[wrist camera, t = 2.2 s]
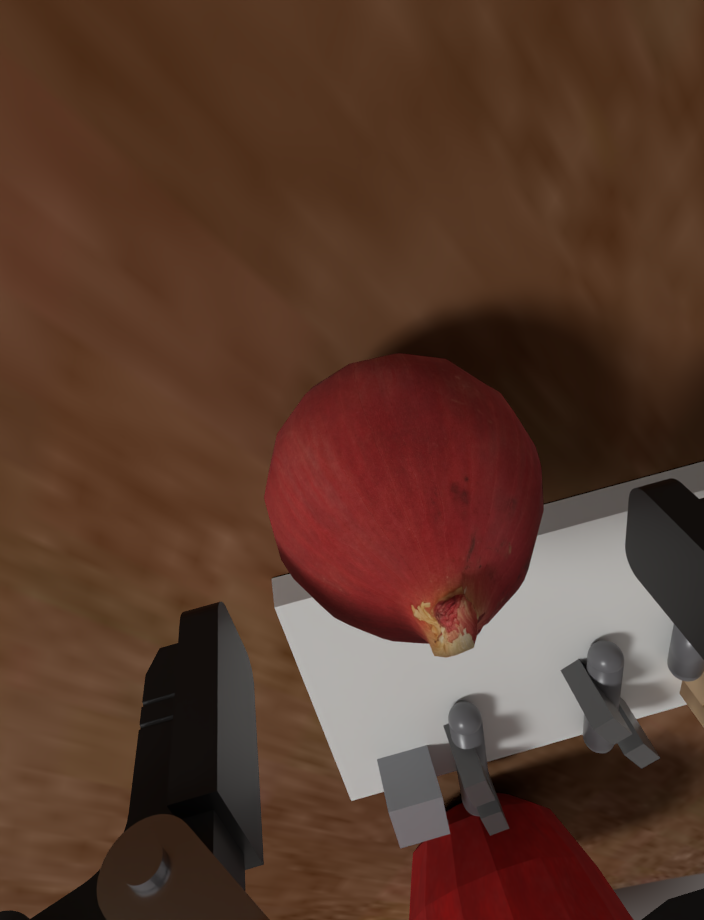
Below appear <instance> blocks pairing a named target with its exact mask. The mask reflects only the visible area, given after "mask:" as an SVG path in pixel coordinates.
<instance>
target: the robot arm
mask: <svg viewBox="0 0 704 920" xmlns="http://www.w3.org/2000/svg"><path fill="white" fill-rule="evenodd" d="M625 552H626V556H627V560H628V563H629V565H630V568H631V570H632V571H633V573H634V575H635V576H636V578H637V579H638V580H639V581H640V583H641V584H642V585H643V586H644V588H645V589H646V590H647V591H648V592H649V594H650V595H651V596H652V597H653V599H654V600H655V601H656V602H657V603H658V605H659V606H660V607H661V608H662V610H663V611H664V612H665V613H666V614H667V616H668V617H669V618H670V619H671V621H672V622H673V623H674V624H675V625H676V627H677V628H678V629H679V630H680V632H681V633H682V634H683V635H684V637H685V638H686V639H687V640H688V641H689V643H690V644H691V645H692V646H693V648H694V649H695V650H696V651H697V652H698V654H699V655H700V656H701V657H702V659H703V660H704V498H701V499H699V498H698V497H696V496H695V495H694V494H693V493H692V492H691V491H690V490H689V489H688V488H686V487H685V486H684V485H683V484H682V483H681V482H680V481H678V480H676V479H673V478H669V479H666V480H662V481H659V482H655V483H651V484H648V485H644V486H641V487H637V488H634V489H632V490H631V492H630V494H629V500H628V513H627V526H626V540H625ZM142 702H143V707H142V709H141V718H140V727H141V729H140V730H139V734H138V742H137V750H136V758H135V766H134V775H133V783H132V791H131V799H130V807H129V815H128V820H127V824H126V827H125V831H124V833H123V834H122V835H121V836H120V837H119V838H118V839H117V840H116V841H115V843H114V844H113V846H112V847H111V848H110V850H109V852H108V853H107V855H106V857H105V859H104V861H103V864H102V866H101V868H100V870H99V871H98V872H97V873H96V874H95V875H94V876H93V877H92V878H90V879H89V880H88V881H87V882H85V883H84V884H82V885H81V886H80V887H78V888H77V889H75V890H74V891H72V892H71V893H69V894H68V895H66V896H64V897H63V898H61V899H60V900H58V901H57V902H55V903H54V904H52V905H51V906H49V907H48V908H46V909H45V910H43V911H42V912H40V913H39V914H37V915H36V916H34V917H33V918H31V919H29V918H28V917H27V916H25V915H24V914H22V913H20V912H16V911H2V912H0V920H269V918H268V917H267V916H266V915H265V914H264V913H263V912H262V910H261V909H260V908H259V907H258V906H257V905H256V904H255V902H254V901H253V900H252V899H251V898H250V897H249V895H248V894H247V893H246V892H245V870H247V869H250V868H253V867H257V866H260V865H263V864H264V861H263V843H262V824H261V806H260V788H259V769H258V751H257V733H256V714H255V696H254V681H253V674H252V669H251V665H250V661H249V658H248V655H247V652H246V650H245V647H244V645H243V643H242V641H241V639H240V637H239V634H238V632H237V630H236V628H235V626H234V624H233V621H232V619H231V617H230V615H229V613H228V611H227V608H226V607H225V605H224V603H223V602H218V603H214V604H211V605H207V606H203V607H200V608H196V609H193V610H189V611H185V612H183V613H182V614H181V617H180V626H179V640H178V643H177V644H173V645H170V646H166V647H163V648H160V649H159V651H158V653H157V655H156V656H155V658H154V660H153V662H152V664H151V666H150V668H149V670H148V672H147V673H146V677H145V685H144V693H143V701H142ZM642 920H704V889H701V890H697V891H695V892H691V893H688V894H684V895H681V896H678V897H675V898H671V899H668V900H667V901H666V902H664V903H663V904H662V905H660V906H659V907H658V908H656V909H655V910H654V911H653V912H651V913H650V914H649V915H647V916H646V917H645V918H643V919H642Z"/></svg>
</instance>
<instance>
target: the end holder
mask: <svg viewBox="0 0 704 920" xmlns="http://www.w3.org/2000/svg"><path fill="white" fill-rule="evenodd" d="M679 694H680V695H681V697H682V698H683V699H684V701H685V702H686V703H687V705H688V706H689V708H690V709H691V710H692V712H693V713H694V715H695V716H696V717H697V719H698V720H699V722H700V723H701V724H702V726H703V727H704V671H703V673H702V675H701V677H700V678H698V679H697V680H694V681H690V682H687V681H682V684H681V688H680V693H679Z"/></svg>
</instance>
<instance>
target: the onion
mask: <svg viewBox="0 0 704 920" xmlns="http://www.w3.org/2000/svg"><path fill="white" fill-rule="evenodd" d="M264 499H265V503H266V507H267V510H268V514H269V518H270V522H271V525H272V529H273V532H274V536H275V539H276V543H277V546H278V550H279V553H280V557H281V560H282V562H283V563H284V565H285V566H286V568H287V570H288V571H289V573H290V574H291V576H292V577H293V579H294V580H295V581H296V582H297V583H298V584H299V585H300V586H301V587H302V588H303V589H304V590H305V591H306V592H307V593H308V594H310V595H311V596H312V597H313V598H314V599H315V600H316V601H317V602H318V603H319V604H320V605H321V606H322V607H323V608H324V609H325V610H326V611H327V612H328V613H330V614H331V615H332V616H333V617H334V618H336V619H338V620H340V621H342V622H344V623H346V624H348V625H350V626H352V627H355V628H357V629H360V630H362V631H365V632H367V633H370V634H372V635H375V636H377V637H380V638H382V639H386V640H390V641H395V642H408V643H422V644H429V645H430V647H431V649H432V652H433V654H434V656H439V657H445V658H446V657H451V656H455V655H458V654H460V653H463V652H465V651H468V650H470V649H472V648H474V645H475V641H476V638H477V635H478V634H479V633H480V631H481V630H482V628H483V626H484V625H486V624H488V623H489V622H490V621H491V620H492V618H493V617H494V616H495V615H496V614H497V613H498V612H499V611H500V610H501V608H502V607H503V606H504V605H505V604H506V603H507V602H508V601H509V600H510V598H511V597H512V596H513V595H514V594H515V593H516V592H517V591H518V589H519V588H520V586H521V585H522V583H523V582H524V580H525V577H526V575H527V572H528V569H529V565H530V561H531V558H532V554H533V550H534V546H535V542H536V538H537V534H538V530H539V527H540V523H541V519H542V515H543V511H544V504H543V487H542V469H541V464H540V460H539V456H538V453H537V449H536V446H535V445H534V443H533V441H532V440H531V438H530V437H529V435H528V433H527V432H526V430H525V429H524V427H523V425H522V424H521V422H520V421H519V419H518V417H517V416H516V414H515V413H514V411H513V410H512V408H511V407H510V405H509V404H508V403H507V401H506V400H505V398H504V397H503V396H502V394H501V393H500V392H499V391H497V390H495V389H493V388H492V387H490V386H488V385H487V384H485V383H483V382H481V381H480V380H478V379H477V378H475V377H473V376H472V375H470V374H469V373H467V372H466V371H464V370H463V369H461V368H459V367H458V366H456V365H455V364H453V363H452V362H450V361H449V360H447V359H444V358H435V357H427V356H419V355H411V354H402V353H397V354H391V355H387V356H382V357H378V358H373V359H369V360H364V361H360V362H355V363H351V364H348V365H347V366H345V367H344V368H342V369H340V370H339V371H337V372H336V373H334V374H332V375H331V376H329V377H328V378H326V379H325V380H323V381H321V382H320V383H318V384H317V385H315V386H314V387H312V388H311V389H310V390H309V391H308V392H307V393H306V394H305V395H304V397H303V398H302V400H301V401H300V402H299V404H298V405H297V407H296V408H295V409H294V411H293V412H292V414H291V415H290V417H289V418H288V419H287V421H286V422H285V424H284V425H283V426H282V428H281V429H280V431H279V432H278V433H277V437H276V441H275V446H274V451H273V455H272V460H271V464H270V469H269V474H268V479H267V485H266V490H265V496H264Z"/></svg>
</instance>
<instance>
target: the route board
mask: <svg viewBox="0 0 704 920" xmlns="http://www.w3.org/2000/svg"><path fill="white" fill-rule="evenodd" d="M669 478H673V479H676V480H678V481H680V482H681V483H682V484H683V485H684V486H685V487H686V488H688V489H689V490H690V491H691V492H692V493H693V494H694V495H695V496H696V497H698V498H699V499H701V498H704V461H703V462H699V463H696V464H692V465H688V466H685V467H681V468H677V469H674V470H670V471H666V472H662V473H659V474H655V475H651V476H648V477H644V478H640V479H637V480H633V481H629V482H626V483H622V484H618V485H615V486H611V487H607V488H604V489H600V490H596V491H592V492H589V493H585V494H581V495H578V496H574V497H570V498H567V499H563V500H559V501H556V502H552V503H548V504H545V505H544V511H543V515H542V519H541V523H540V527H539V530H538V534H537V538H536V542H535V546H534V550H533V554H532V558H531V561H530V565H529V569H528V572H527V575H526V577H525V580H524V582H523V583H522V585H521V586H520V588H519V589H518V591H517V592H516V593H515V594H514V595H513V596H512V597H511V598H510V600H509V601H508V602H507V603H506V604H505V605H504V606H503V607H502V608H501V610H500V611H499V612H498V613H497V614H496V615H495V616H494V617H493V618H492V620H491V621H490V622H489V623H488V624H486V625H484V626H483V628H482V630H481V631H480V633H479V634H478V635H477V638H476V641H475V645H474V648H472V649H470V650H468V651H465V652H463V653H460V654H458V655H455V656H451V657H446V658H445V657H439V656H434V654H433V652H432V649H431V647H430V645H429V644H422V643H408V642H395V641H390V640H386V639H382V638H380V637H377V636H375V635H372V634H370V633H367V632H365V631H362V630H360V629H357V628H355V627H352V626H350V625H348V624H346V623H344V622H342V621H340V620H338V619H336V618H334V617H333V616H332V615H331V614H330V613H328V612H327V611H326V610H325V609H324V608H323V607H322V606H321V605H320V604H319V603H318V602H317V601H316V600H315V599H314V598H313V597H312V596H311V595H310V594H308V593H307V592H306V591H305V590H304V589H303V588H302V587H301V586H300V585H299V584H298V583H297V582H296V581H295V580H294V579H293V577H292V576H291V574H287V575H283V576H279V577H276V578H272V587H273V597H274V607H275V610H276V612H277V615H278V618H279V620H280V623H281V625H282V628H283V630H284V633H285V635H286V638H287V640H288V643H289V645H290V648H291V650H292V653H293V655H294V658H295V660H296V663H297V665H298V668H299V670H300V673H301V675H302V678H303V680H304V683H305V686H306V688H307V691H308V693H309V696H310V698H311V701H312V703H313V706H314V708H315V711H316V713H317V716H318V718H319V721H320V723H321V726H322V728H323V731H324V733H325V736H326V738H327V741H328V743H329V746H330V748H331V751H332V754H333V756H334V759H335V761H336V764H337V766H338V769H339V771H340V774H341V776H342V779H343V781H344V784H345V786H346V789H347V791H348V794H349V796H350V799H351V801H353V800H356V799H360V798H363V797H367V796H370V795H374V794H377V793H381V792H384V794H385V798H386V803H387V807H388V812H389V815H390V818H391V821H392V824H393V827H394V830H395V833H396V836H397V839H398V842H399V845H400V848H403V847H407V846H410V845H414V844H417V843H421V842H424V841H427V840H431V839H434V838H438V837H441V836H445V835H448V834H450V830H449V826H448V821H447V816H446V812H445V807H444V802H443V798H442V794H441V791H440V787H439V784H438V781H437V777H436V776H440V775H443V774H447V773H450V772H454V771H457V773H458V779H459V785H460V791H461V796H462V802H463V805H464V807H465V809H466V810H467V811H468V812H469V813H470V814H472V815H474V816H480V818H481V820H482V822H483V824H484V826H485V828H486V829H487V831H488V833H489V835H490V836H491V835H493V834H496V833H499V832H501V831H504V830H507V829H509V826H508V823H507V820H506V818H505V815H504V812H503V810H502V807H501V804H500V802H499V799H498V796H497V794H496V791H495V788H494V786H493V783H492V780H491V778H490V775H489V772H488V766H487V762H488V761H492V760H495V759H499V758H502V757H506V756H509V755H513V754H516V753H520V752H523V751H527V750H530V749H534V748H537V747H541V746H544V745H548V744H551V743H554V742H558V741H561V740H565V739H568V738H572V737H575V736H579V735H582V734H583V739H584V742H585V744H586V745H587V746H588V748H589V749H591V750H592V751H594V752H596V753H607V752H609V751H610V750H611V749H612V748H613V746H614V745H615V744H616V743H618V745H619V747H620V748H621V750H622V752H623V754H624V755H625V756H626V757H628V758H629V759H630V760H631V761H633V762H634V763H635V764H636V765H638V766H639V767H640V768H641V769H642V768H643V767H645V766H647V765H649V764H651V763H652V762H654V761H656V760H658V759H660V757H659V755H658V753H657V752H656V750H655V749H654V747H653V745H652V744H651V742H650V741H649V739H648V737H647V736H646V734H645V733H644V731H643V729H642V728H641V726H640V725H639V723H638V721H637V720H636V719H638V718H641V717H645V716H648V715H652V714H655V713H659V712H662V711H666V710H669V709H673V708H676V707H680V706H683V705H687V703H686V702H685V701H684V699H683V698H682V697H681V695H680V694H679V693H680V688H681V684H682V681H687V682H690V681H694V680H697V679H698V678H700V677H701V675H702V673H703V671H704V660H703V659H702V657H701V656H700V655H699V654H698V652H697V651H696V650H695V649H694V648H693V646H692V645H691V644H690V643H689V641H688V640H687V639H686V638H685V637H684V635H683V634H682V633H681V632H680V630H679V629H678V628H677V627H676V625H675V624H674V623H673V622H672V621H671V619H670V618H669V617H668V616H667V614H666V613H665V612H664V611H663V610H662V608H661V607H660V606H659V605H658V603H657V602H656V601H655V600H654V599H653V597H652V596H651V595H650V594H649V592H648V591H647V590H646V589H645V588H644V586H643V585H642V584H641V583H640V581H639V580H638V579H637V578H636V576H635V575H634V573H633V571H632V570H631V568H630V565H629V563H628V560H627V556H626V552H625V540H626V526H627V513H628V500H629V494H630V492H631V490H632V489H634V488H637V487H641V486H644V485H648V484H651V483H655V482H659V481H662V480H666V479H669Z"/></svg>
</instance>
